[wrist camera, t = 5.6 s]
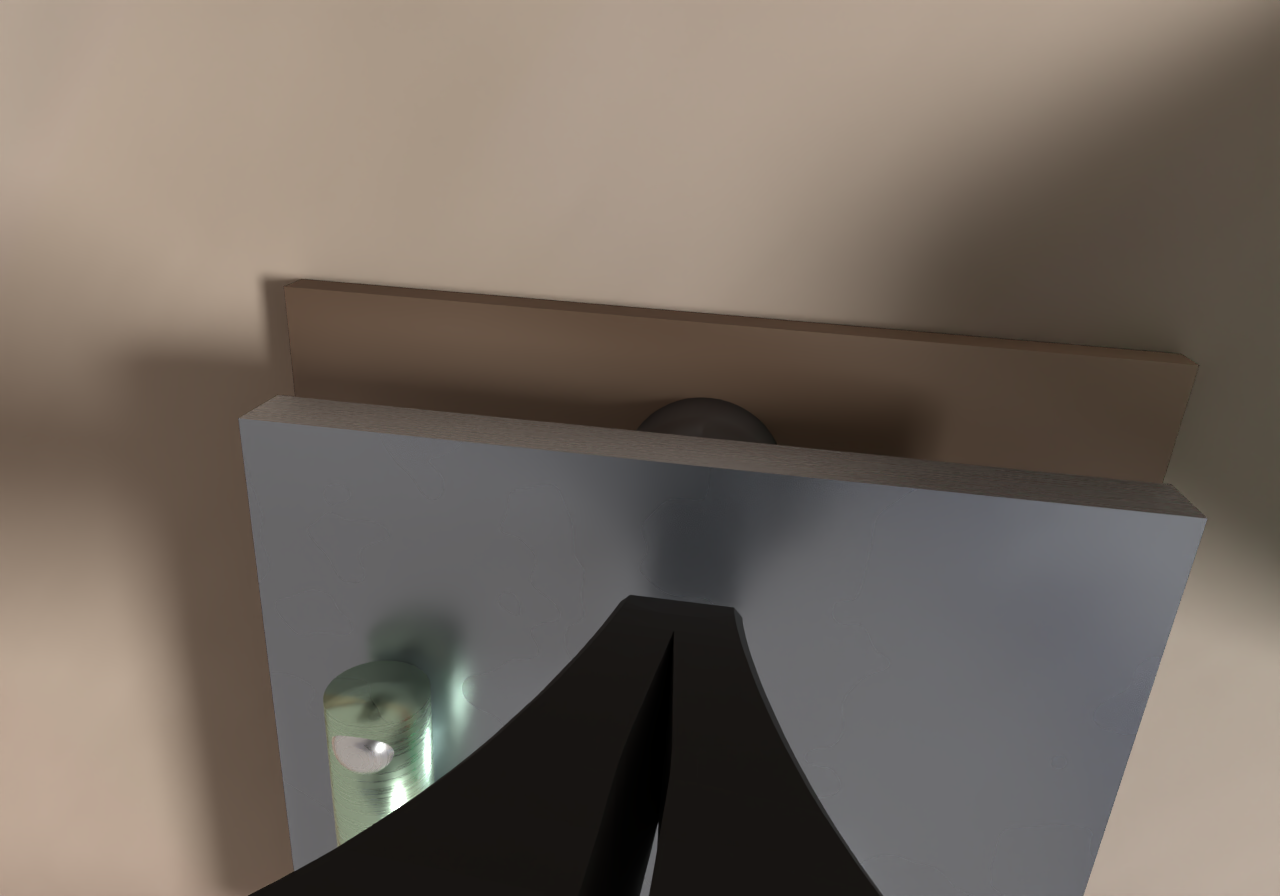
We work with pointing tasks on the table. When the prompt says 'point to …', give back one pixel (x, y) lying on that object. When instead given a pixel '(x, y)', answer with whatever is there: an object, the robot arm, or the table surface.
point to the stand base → (743, 378)
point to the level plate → (726, 576)
